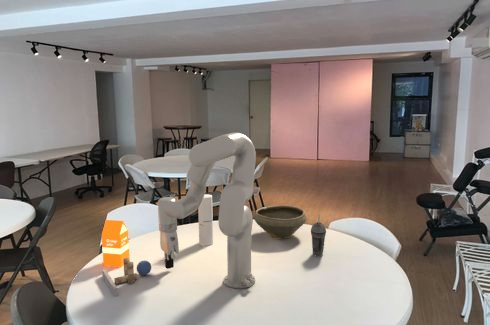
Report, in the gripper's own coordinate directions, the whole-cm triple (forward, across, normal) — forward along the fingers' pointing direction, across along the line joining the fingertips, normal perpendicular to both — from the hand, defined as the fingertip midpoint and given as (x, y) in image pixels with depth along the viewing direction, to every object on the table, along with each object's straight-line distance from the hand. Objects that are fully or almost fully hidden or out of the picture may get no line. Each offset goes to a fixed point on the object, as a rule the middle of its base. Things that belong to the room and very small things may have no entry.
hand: (169, 267), depth 167 cm
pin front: (0, 0, +14) cm, 14 cm away
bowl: (+2, +10, -67) cm, 68 cm away
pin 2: (+2, -2, +17) cm, 18 cm away
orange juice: (+2, +21, +17) cm, 27 cm away
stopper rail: (+2, 0, +25) cm, 25 cm away
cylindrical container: (+2, +21, -28) cm, 35 cm away
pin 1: (+2, +2, +17) cm, 18 cm away
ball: (-2, +2, +10) cm, 11 cm away
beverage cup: (+2, -21, -66) cm, 69 cm away
